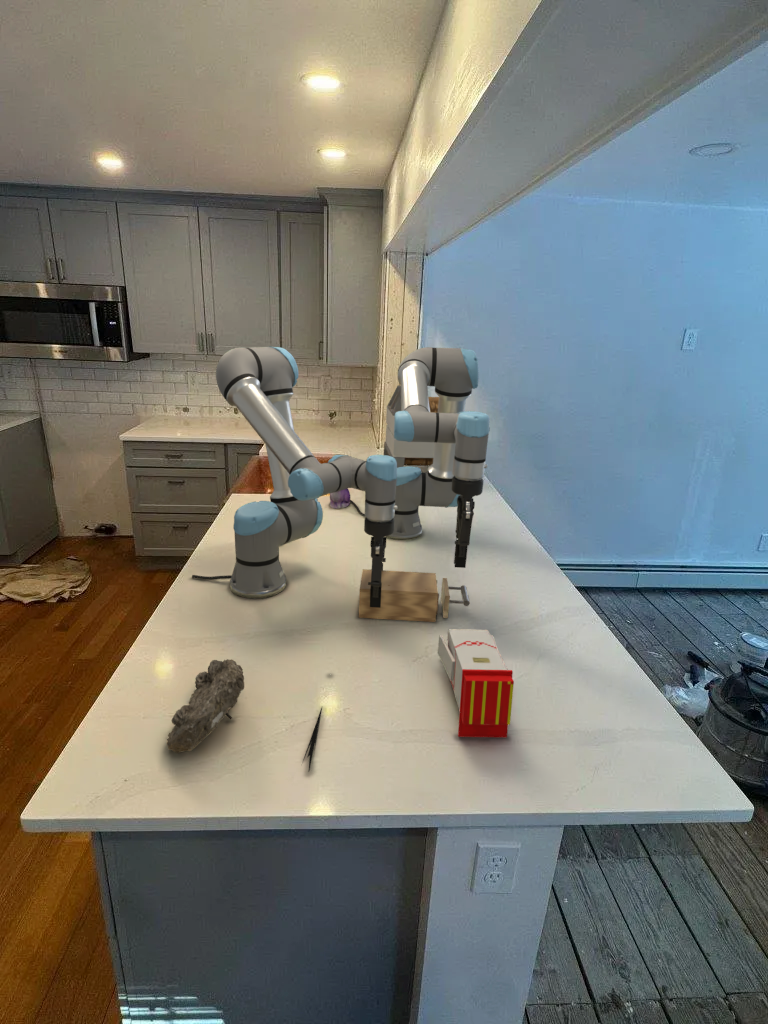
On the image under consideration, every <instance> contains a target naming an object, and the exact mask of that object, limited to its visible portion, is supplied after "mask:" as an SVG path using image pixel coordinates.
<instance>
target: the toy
mask: <svg viewBox="0 0 768 1024" xmlns="http://www.w3.org/2000/svg"><path fill="white" fill-rule="evenodd" d="M446 640H447V643H446V641H445V639H444V636H443V635H442V634H439V637H438V646H437V656H438V657H439V659H440V661H441V663H442V666H443V668H444V670H445V672H446V674H447V677H448V679H449V681H450V684H451V687H452V690H453V693H454V697H455V701H456V705H457V708H458V711H459V714H458V715H459V716H458V730H457V731H458V732H457V737H458V738H508V731H509V726H510V725H511V717H512V707H513V697H514V696H513V695H514V684H515V680H514V679H513V673H514V671H513V670H512V669H508V667H507V665H506V662H505V661H504V659H503V658H502V655H501V653H500V651H499V649H498V647H497V643H496V639H495V637H494V635H493V634H491V632H490V631H489V629H467V628H466V629H465V628H463V629H461V628H460V629H459V628H448V630H447V639H446Z"/></svg>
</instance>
